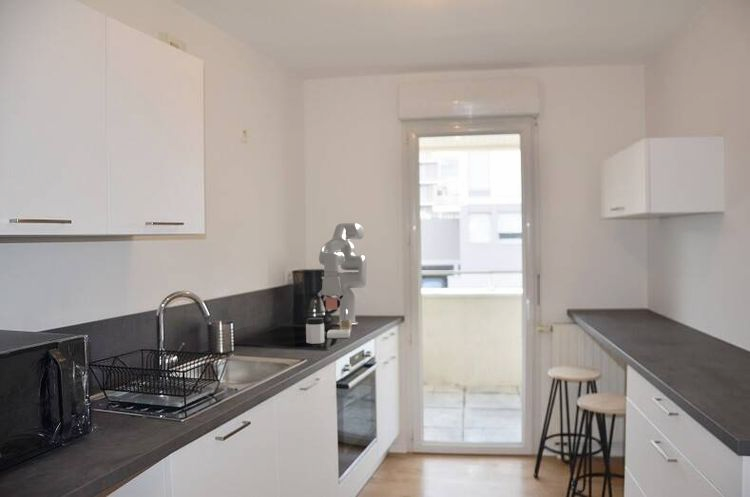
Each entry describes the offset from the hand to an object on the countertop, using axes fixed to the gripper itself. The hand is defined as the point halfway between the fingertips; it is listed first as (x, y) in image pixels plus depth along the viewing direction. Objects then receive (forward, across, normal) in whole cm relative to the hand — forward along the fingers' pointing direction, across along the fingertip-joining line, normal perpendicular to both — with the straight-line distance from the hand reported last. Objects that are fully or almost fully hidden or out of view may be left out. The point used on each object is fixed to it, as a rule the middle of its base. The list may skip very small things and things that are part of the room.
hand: (332, 307), depth 326 cm
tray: (+14, -4, +11) cm, 19 cm away
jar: (+14, +6, +29) cm, 33 cm away
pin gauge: (+14, -7, -7) cm, 17 cm away
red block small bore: (+1, 0, 0) cm, 1 cm away
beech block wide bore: (+14, -7, -7) cm, 17 cm away
